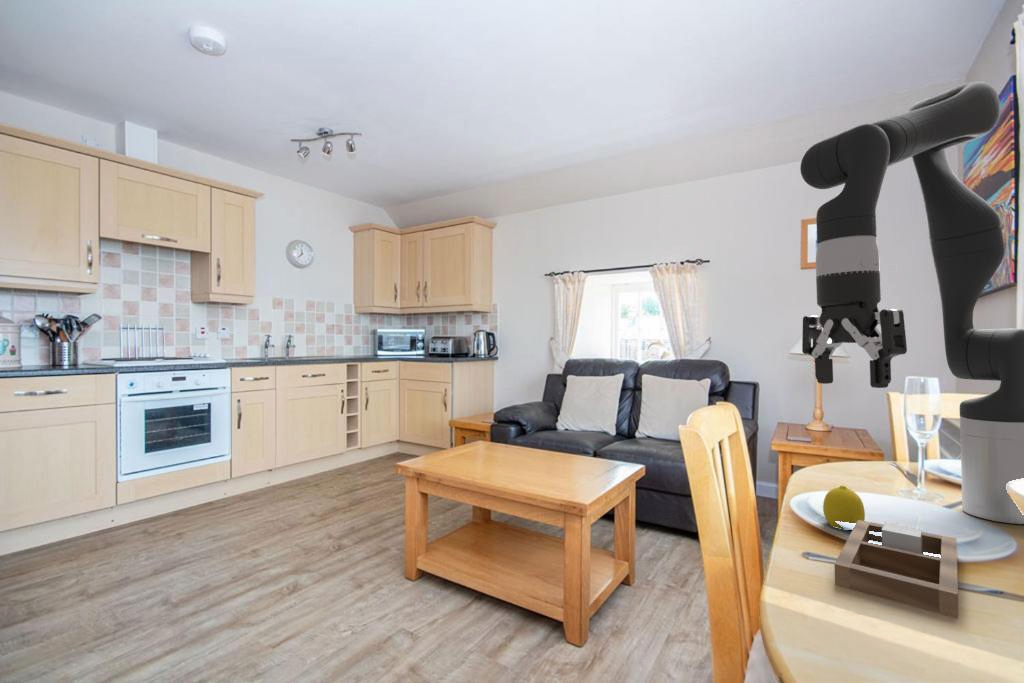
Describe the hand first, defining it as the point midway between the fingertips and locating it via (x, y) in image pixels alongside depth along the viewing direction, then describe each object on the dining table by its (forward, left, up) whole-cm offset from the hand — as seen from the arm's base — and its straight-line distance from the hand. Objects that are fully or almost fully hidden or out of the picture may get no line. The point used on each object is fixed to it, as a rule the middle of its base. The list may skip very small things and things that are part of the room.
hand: (850, 385), depth 69 cm
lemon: (-8, -6, -25) cm, 27 cm away
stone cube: (-2, +5, -23) cm, 24 cm away
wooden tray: (+2, +6, -25) cm, 26 cm away
